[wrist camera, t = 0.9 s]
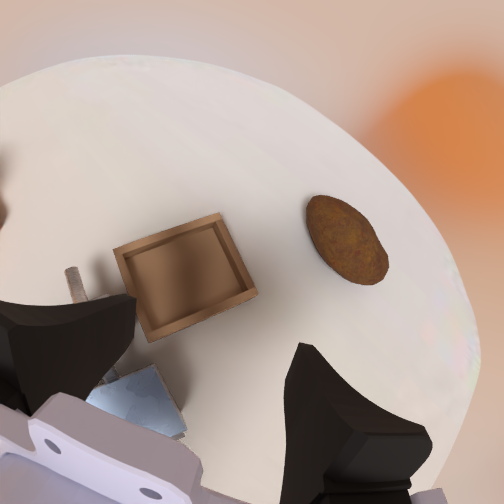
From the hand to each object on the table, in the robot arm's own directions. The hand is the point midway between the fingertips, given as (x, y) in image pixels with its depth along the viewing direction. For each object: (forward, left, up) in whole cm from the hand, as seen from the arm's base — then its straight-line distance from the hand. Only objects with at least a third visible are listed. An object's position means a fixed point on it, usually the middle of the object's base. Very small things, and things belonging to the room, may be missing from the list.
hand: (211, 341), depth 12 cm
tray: (+3, +6, -14) cm, 15 cm away
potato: (+19, +2, -14) cm, 23 cm away
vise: (-6, +1, -14) cm, 15 cm away
